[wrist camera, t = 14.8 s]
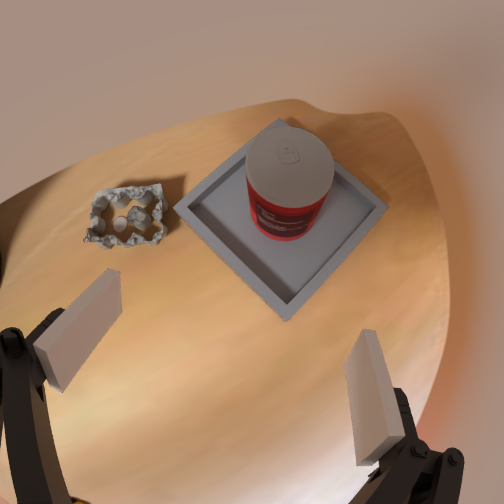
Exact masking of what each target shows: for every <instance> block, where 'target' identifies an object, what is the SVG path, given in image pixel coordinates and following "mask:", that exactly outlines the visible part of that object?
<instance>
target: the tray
mask: <svg viewBox="0 0 504 504" xmlns="http://www.w3.org/2000/svg"><path fill="white" fill-rule="evenodd" d="M283 126H290V125H289V124H287V123H286V122H284V121H283V120H282V119H280V118H278V119H277V120H276V121H275V122H273V123H272V124H271V125H269V126H268V127H267V128H265V129H264V130H263V131H262V132H260V133H259V134H258V135H257V136H259V135H260V134H261V133H263V132H265V131H267V130H269V129H272V128H276V127H283ZM290 127H291V126H290ZM257 136H255V137H254V138H253V139H251V140H250V141H249V142H248V143H246V144H245V145H244V146H243V147H242V148H240V149H239V150H238V151H237V152H235V153H234V154H233V155H232V156H231V157H229V158H228V159H227V160H226V161H225V162H223V163H222V164H221V165H220V166H219V167H218V168H216V169H215V170H214V171H213V172H212V173H211V174H209V175H208V176H207V177H206V178H205V179H204V180H203V181H201V182H200V183H199V184H198V185H197V186H196V187H195V188H194V189H192V190H191V191H190V192H189V193H188V194H187V195H186V196H185V197H184V198H182V199H181V200H180V201H179V202H178V203H177V204H176V205H175V206H174V207H173V209H174V210H175V211H176V213H177V214H178V215H179V216H180V217H181V218H182V220H183V221H184V222H185V223H186V224H187V225H188V226H189V227H190V228H191V229H192V230H193V231H194V232H195V233H196V234H197V235H198V236H199V237H200V238H201V239H202V240H203V241H204V242H205V243H206V244H207V245H208V246H209V247H210V248H211V249H212V250H213V251H214V252H215V253H216V254H217V255H218V256H219V257H220V258H221V259H222V260H223V261H224V262H225V263H226V264H227V265H228V266H229V267H230V268H231V269H232V270H233V271H234V272H235V273H236V274H237V275H238V276H239V277H240V278H241V279H242V280H243V281H244V282H245V283H246V284H247V285H248V286H249V287H250V288H251V289H252V290H253V291H254V292H255V293H256V294H257V295H258V296H259V297H260V298H261V299H262V300H263V301H264V302H265V303H266V304H267V305H268V306H269V307H270V308H271V309H272V310H273V311H275V312H276V313H277V314H278V315H279V316H280V317H281V318H282V319H283V320H284V321H285V322H287V321H288V320H289V319H290V318H291V317H292V316H293V315H294V314H295V313H296V312H297V311H298V310H299V309H300V308H301V307H302V305H303V304H304V303H305V302H306V301H307V300H308V299H309V298H310V297H311V296H312V295H313V294H314V293H315V292H316V291H317V290H318V288H319V287H320V286H321V285H322V284H323V283H324V282H325V281H326V280H327V279H328V278H329V276H330V275H331V274H332V273H333V272H334V271H335V270H336V269H337V268H338V266H339V265H340V264H341V263H342V262H343V261H344V260H345V258H346V257H347V256H348V255H349V254H350V253H351V252H352V250H353V249H354V248H355V247H356V246H357V245H358V243H359V242H360V241H361V240H362V239H363V238H364V236H365V235H366V234H367V233H368V232H369V231H370V229H371V228H372V227H373V226H374V225H375V223H376V222H377V221H378V220H379V218H380V217H381V216H382V215H383V214H384V212H385V211H386V210H387V209H388V206H387V205H386V204H385V203H384V202H383V201H382V200H381V199H380V198H379V197H378V196H376V195H375V194H374V193H373V192H372V191H371V190H370V189H369V188H367V187H366V186H365V185H364V184H363V183H362V182H361V181H360V180H358V179H357V178H356V177H355V176H354V175H353V174H351V173H350V172H349V171H348V170H347V169H345V168H344V167H343V166H342V165H341V164H339V163H338V162H337V161H336V160H334V159H333V161H334V177H333V182H332V184H331V187H330V189H329V192H328V194H327V196H326V198H325V201H324V203H323V205H322V207H321V209H320V211H319V213H318V215H317V217H316V219H315V222H314V224H313V226H312V227H311V229H310V230H309V231H308V232H307V233H306V234H305V235H304V236H302V237H300V238H298V239H296V240H292V241H277V240H274V239H271V238H269V237H267V236H265V235H264V234H263V233H262V232H260V230H259V229H258V228H257V227H256V226H255V224H254V222H253V220H252V217H251V213H250V205H249V197H248V189H247V181H246V172H245V171H246V170H245V161H246V154H247V151H248V148H249V146H250V145H251V143H252V141H253V140H254V139H255V138H256V137H257Z"/></svg>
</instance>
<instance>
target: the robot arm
mask: <svg viewBox="0 0 504 504" xmlns="http://www.w3.org/2000/svg"><path fill="white" fill-rule="evenodd" d="M0 275H1V255H0ZM121 313H122V302H121V284H120V272H119V271H115V270H112V269H109V268H108V269H107V270H106V271H105V272H104V273H103V274H102V275H101V276H100V277H99V278H97V279H96V280H95V281H94V282H93V283H92V284H91V285H90V286H89V287H88V288H87V289H86V290H85V291H84V292H83V293H82V294H81V295H80V296H79V297H78V298H77V299H76V300H75V301H74V302H73V303H72V304H71V305H70V306H69V307H68V308H67V309H66V310H65V309H63V308H58V309H56V310H54V311H52V312H51V313H50V314H49V315H48V316H47V317H46V318H45V320H43V321H42V322H41V323H40V324H39V325H38V326H37V327H36V328H35V329H34V330H33V331H32V332H31V333H30V334H29V335H28V336H27V337H26V338H25V339H24V336H23V333H22V332H21V331H20V329H18V328H15V327H10V328H6V329H4V330H3V331H1V333H0V446H1V437H2V429H3V422H4V428H5V438H6V446H7V453H8V459H9V465H10V471H11V476H12V480H13V485H14V489H15V493H16V497H17V504H72V502H71V499H70V496H69V493H68V490H67V487H66V484H65V481H64V478H63V474H62V471H61V468H60V464H59V460H58V457H57V453H56V449H55V444H54V440H53V435H52V431H51V426H50V420H49V415H48V409H47V402H46V395H45V388H44V385H43V383H44V381H45V380H46V379H47V381H48V383H49V385H50V387H52V388H54V389H56V390H58V391H59V392H61V393H63V392H64V390H65V389H66V387H67V386H68V385H69V383H70V382H71V380H72V379H73V377H74V376H75V375H76V373H77V372H78V370H79V369H80V368H81V366H82V365H83V363H84V362H85V361H86V359H87V358H88V357H89V355H90V354H91V353H92V351H93V350H94V348H95V347H96V346H97V344H98V343H99V342H100V340H101V339H102V338H103V336H104V335H105V334H106V332H107V331H108V330H109V329H110V327H111V326H112V325H113V323H114V322H115V321H116V319H117V318H118V317H119V316H120V314H121ZM344 369H345V375H346V382H347V389H348V396H349V403H350V410H351V418H352V427H353V435H354V445H355V455H356V466H372V465H373V464H374V463H376V462H377V461H378V460H379V467H378V468H377V469H376V470H374V471H373V472H372V473H371V474H369V475H368V477H370V476H371V477H370V478H369V479H368V481H367V482H366V483H365V484H364V486H363V487H362V488H361V489H360V491H359V492H358V493H357V494H356V495H355V497H354V498H353V499H352V500H351V501H350V502H349V504H458V500H459V494H460V488H461V483H462V476H463V469H464V457H463V454H462V453H461V452H460V450H458V449H456V448H448V449H447V450H446V451H445V452H443V453H441V452H437V451H433V450H429V447H428V446H427V444H426V443H425V442H424V441H422V440H420V439H419V438H418V436H417V432H416V428H415V424H414V420H413V417H412V414H411V410H410V407H409V403H408V399H407V396H406V395H405V393H404V392H403V391H402V389H401V388H393V386H392V382H391V379H390V375H389V372H388V369H387V365H386V362H385V359H384V356H383V352H382V349H381V346H380V343H379V340H378V337H377V334H376V331H373V330H367V329H363V330H362V332H361V334H360V335H359V337H358V339H357V341H356V343H355V345H354V347H353V349H352V351H351V353H350V354H349V356H348V358H347V360H346V362H345V363H344Z"/></svg>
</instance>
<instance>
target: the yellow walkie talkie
mask: <svg viewBox="0 0 504 504" xmlns="http://www.w3.org/2000/svg"><path fill="white" fill-rule="evenodd" d="M70 499H71V498H70ZM71 502H72V504H85V503H82V502H79V501H77V500H75V499H71Z"/></svg>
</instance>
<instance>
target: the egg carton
mask: <svg viewBox="0 0 504 504" xmlns="http://www.w3.org/2000/svg"><path fill="white" fill-rule="evenodd" d="M154 196H158V199H159V200H160V202H159V203H157V204H156V208H155V209H154V210H153V212H152V216H153V217H154V218H155V220H156V221H157V222H158V223H159V224H160V225H161V226H162V231H159V232H156V233H155V234H154V235H153V236H152V237H153V240H152V241H148V240H147V239H146V238H144V237H143V236H142V235H141V234H139V233H136V232H133V233H132V235H131V237H130V238H129V239H128V240H127V243H124V242H123V241H122V240H120V239H119V238H118V237H116V236H115V235H109V234H107V235H106V236H104V237H98V235H100V234H102V233H103V232H104V231H105V228H106V222H105V220H103V219H102V218H101V217H100V215H101V212H102V211H104V210H105V209H106V208H107V206H108V204H109V203H110V202H111V203H112V204H114V205H115V206H116V207H117V208H119V209H122V208H125V207H126V206H127V205H128V204H129V201H130V200H131V199H135V200H136V201H137V203H138V204H139V205H141V206H146V205H148V204H149V203H150V202H151V201H152V199H153V197H154ZM168 206H169V204H168V202H167V201H166V200H165V198H164V196H163V192H162V187H161V184H160V183H159V184H154V185H149V186H140V187H137V186H130V187H121V188H108V189H102V190H100V191H99V192H98V193H97V194H96V195H95V196H94V199H93V203H92V212H91V214H90V219H91V226H90V228H87V231H86V237H85V239H84V240H83V241H84V242H96V243H97V245H98V246H99V247H100V248H102V249H106V250H108V249H111V247H112V245H114V244H118V245H122V246H124V247H125V248H129V247H133V246H134V245H138V244H146V243H148V244H149V245H150V246H157V245H158V244H159V241H160V240H161V239H162V238H163V237H165V236H167V234H168V229H167V227H165V225H164V224H163V223H162V222H161V219H162V214H163V213H164V212H166V211H168ZM128 222H129V223H131V224H132V225H134V226H135V227H136V228H137V229H139V230H145V229H147V228H148V227H149V226H150V224H151V217H150V216H149V214H148V213H147V212H146V211H145V210H144V209H143V208H141V207H139V206H133V207H132V208H131V210H130V211H129V212H128V215H127V217H126V218H125V217H123V216H119V217H117V218H116V219H115V220H114V222H113V229H114V231H115V232H118V233H120V232H123V231H124V230H125V229H126V227H127V225H128Z"/></svg>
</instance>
